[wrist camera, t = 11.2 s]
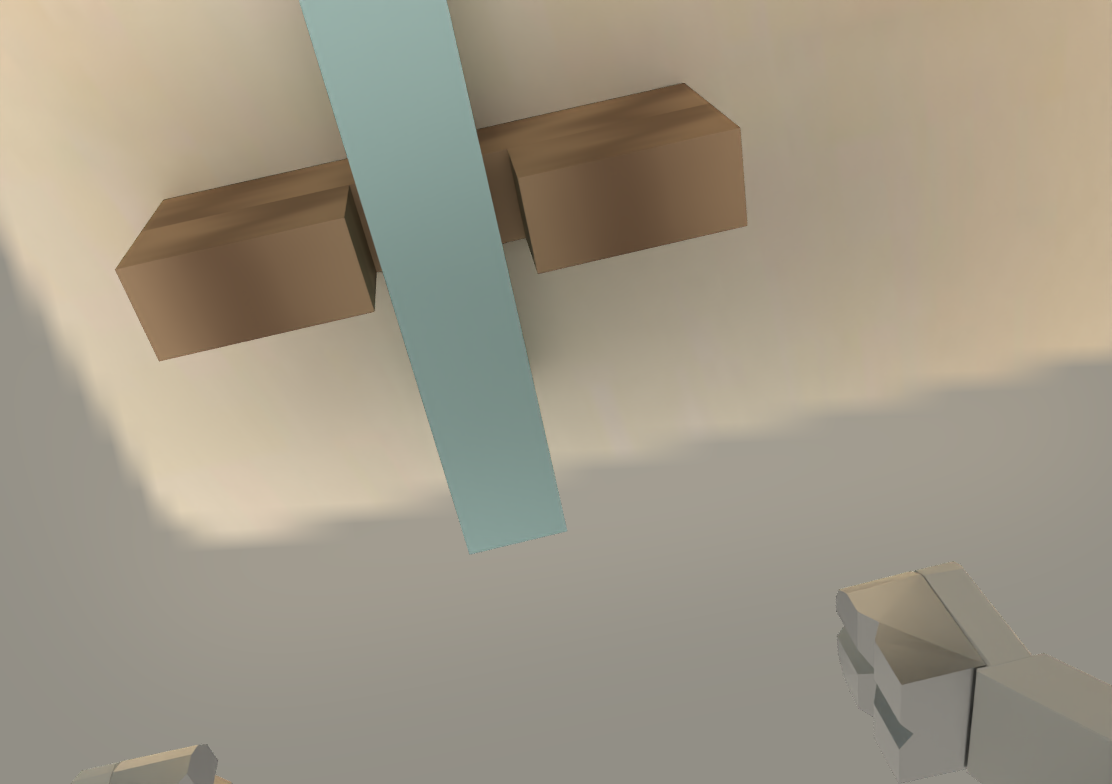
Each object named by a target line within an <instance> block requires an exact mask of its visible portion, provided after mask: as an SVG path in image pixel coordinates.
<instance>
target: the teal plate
mask: <svg viewBox="0 0 1112 784" xmlns="http://www.w3.org/2000/svg"><path fill="white" fill-rule="evenodd" d="M299 2H300V5H301V8H302V12H303V15H304V18H305V21H306V25H307V28H308V31H309V34H310V38H311V41H312V44H313V47H314V51H315V54H316V57H317V60H318V64H319V67H320V70H321V73H322V77H323V80H324V83H325V86H326V90H327V93H328V96H329V99H330V103H331V106H332V109H333V112H334V116H335V119H336V122H337V125H338V129H339V132H340V135H341V138H342V142H343V145H344V148H345V151H346V155H347V158H348V161H349V164H350V168H351V171H352V174H353V177H354V181H355V184H356V187H357V190H358V194H359V197H360V200H361V203H362V207H363V210H364V213H365V216H366V220H367V223H368V226H369V229H370V233H371V236H372V239H373V242H374V246H375V249H376V252H377V255H378V259H379V262H380V265H381V268H382V272H383V275H384V278H385V281H386V285H387V288H388V291H389V294H390V298H391V301H392V304H393V307H394V311H395V314H396V317H397V320H398V324H399V327H400V330H401V333H402V337H403V340H404V343H405V346H406V350H407V353H408V356H409V359H410V362H411V366H412V369H413V372H414V375H415V379H416V382H417V385H418V388H419V392H420V395H421V398H422V401H423V405H424V408H425V411H426V414H427V418H428V421H429V424H430V427H431V431H432V434H433V437H434V440H435V444H436V447H437V450H438V453H439V457H440V460H441V463H442V466H443V470H444V473H445V476H446V479H447V483H448V486H449V489H450V492H451V496H452V499H453V502H454V505H455V509H456V512H457V515H458V518H459V522H460V525H461V528H462V531H463V535H464V538H465V541H466V544H467V548H468V551H469V554H474V553H478V552H482V551H487V550H490V549H495V548H499V547H503V546H508V545H511V544H516V543H520V542H524V541H528V540H532V539H537V538H541V537H545V536H549V535H553V534H557V533H561V532H566V531H567V528H566V523H565V519H564V514H563V510H562V506H561V501H560V497H559V492H558V488H557V484H556V479H555V475H554V470H553V466H552V462H551V457H550V453H549V448H548V444H547V440H546V435H545V431H544V426H543V422H542V418H541V413H540V409H539V404H538V400H537V396H536V391H535V387H534V382H533V378H532V374H531V369H530V365H529V360H528V356H527V352H526V347H525V343H524V338H523V334H522V330H521V325H520V321H519V316H518V312H517V308H516V303H515V299H514V294H513V290H512V286H511V281H510V277H509V272H508V268H507V264H506V259H505V255H504V251H503V246H502V242H501V237H500V233H499V229H498V224H497V220H496V215H495V211H494V207H493V202H492V198H491V193H490V189H489V185H488V180H487V176H486V171H485V167H484V163H483V158H482V154H481V149H480V145H479V141H478V136H477V132H476V127H475V123H474V119H473V114H472V110H471V105H470V101H469V97H468V92H467V88H466V83H465V79H464V75H463V70H462V66H461V61H460V57H459V53H458V48H457V44H456V39H455V35H454V31H453V26H452V22H451V17H450V13H449V9H448V4H447V0H299Z"/></svg>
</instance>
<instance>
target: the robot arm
mask: <svg viewBox="0 0 1112 784" xmlns="http://www.w3.org/2000/svg"><path fill="white" fill-rule="evenodd" d="M836 612H837V613H838V615H839V617H840V619H841V620H842V622H843V624H844V627H843V628H842V630H841V631H840V632H839V634H838V635H837V645H838V656H839V660H840V664H841V668H842V672H843V675H844V678H845V681H846V683H847V686H848V688H849V691H850V693H851V695H852V697H853V699H854V701H855V703H856V705H857V707H858V708H859V709H860V710H862V711H864V712H865V713H867V714H869V715H871V716H872V717H874V739H875V741H876V743H877V745H878V746H879V748H880V750H881V752H882V754H883V756H884V758H885V759H886V761H887V763H888V765H889V767H890V769H891V771H892V773H893V774H894V776H895V778H896V780H897V782H898V783H899V784H900V783H905V782H910V781H914V780H919V779H923V778H928V777H933V776H937V775H942V774H946V773H951V772H956V771H960V770H964V769H967V773H968V774H969V775H971V776H972V777H973V778H975V779H976V780H978V781H979V782H980V783H982V784H1112V685H1110V684H1107V683H1105V682H1103V681H1101V680H1099V679H1097V678H1095V677H1093V676H1091V675H1089V674H1087V673H1085V672H1083V671H1081V670H1078V669H1076V668H1074V667H1072V666H1070V665H1068V664H1066V663H1064V662H1062V661H1060V660H1058V659H1056V658H1054V657H1051V656H1049V655H1047V654H1045V653H1041V654H1037V655H1032V654H1031V653H1030V652H1029V651H1028V649H1027V648H1026V647H1025V645H1024V644H1023V643H1022V642H1021V640H1020V639H1019V638H1018V637H1017V635H1016V634H1015V633H1014V632H1013V630H1012V629H1011V628H1010V627H1009V625H1008V624H1007V623H1006V621H1005V620H1004V619H1003V618H1002V616H1001V615H1000V614H999V613H998V611H997V610H996V609H995V607H994V606H993V605H992V604H991V602H990V601H989V600H988V599H987V597H986V596H985V595H984V594H983V592H982V591H981V590H980V588H979V587H978V586H977V585H976V583H975V582H974V581H973V580H972V578H971V577H970V576H969V575H968V573H966V571H965V570H964V568H963V567H962V566H961V565H959V564H958V563H956V562H954V561H952V562H948V563H944V564H940V565H935V566H931V567H928V568H923V569H920V570H915V571H914V572H912V571H909V572H905V573H901V574H898V575H894V576H890V577H886V578H882V579H878V580H874V581H870V582H866V583H862V584H858V585H854V586H850V587H847V588H842V589H839V590H838V593H837V596H836ZM217 764H218V759H217V758H216V756H215V755H214V753H213V752H212V750H211V749H210V748H209V746H208V745H207V744H203V745H195V746H190V747H186V748H181V749H176V750H171V751H167V752H162V753H158V754H153V755H149V756H143V757H139V758H134V759H129V760H125V761H121V762H118V763H113V764H109V765H104V766H100V767H95V768H91V769H86V770H82V771H81V772H80V773H79V774H78V775H77V777H76V778H75V779H74V780H73V781H72V783H71V784H232V782H230V781H227V780H225V779H223V778H221V777H218V776H216V775H215V774H216V769H217Z"/></svg>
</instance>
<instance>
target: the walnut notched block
mask: <svg viewBox="0 0 1112 784" xmlns="http://www.w3.org/2000/svg"><path fill="white" fill-rule="evenodd" d="M476 132H477V136H478V141H479V145H480V149H481V154H482V158H483V163H484V167H485V171H486V176H487V180H488V185H489V189H490V193H491V198H492V202H493V207H494V211H495V215H496V220H497V224H498V229H499V233H500V237H501V242H502V244H503V243H507V242H511V241H516V240H520V239H524V238H526V240H527V243H528V246H529V249H530V252H531V255H532V258H533V261H534V264H535V267H536V270H537V273H538V274H540V273H544V272H549V271H553V270H557V269H562V268H566V267H570V266H575V265H579V264H583V263H588V262H592V261H596V260H601V259H605V258H609V257H614V256H618V255H622V254H627V253H631V252H635V251H640V250H644V249H648V248H653V247H657V246H661V245H666V244H670V243H674V242H679V241H683V240H687V239H692V238H696V237H700V236H705V235H709V234H713V233H718V232H722V231H726V230H731V229H735V228H739V227H744V226H747V213H746V200H745V186H744V172H743V159H742V145H741V131H740V127H739V126H737V125H736V124H735V123H734V122H732V121H731V120H730V119H729V118H727V117H726V116H725V115H724V114H722V113H721V112H720V111H719V110H717V109H716V108H715V107H714V106H712V105H711V104H710V103H709V102H707V101H706V100H705V99H704V98H702V97H701V96H700V95H698V94H697V93H696V92H695V91H693V90H692V89H691V88H690V87H688V86H687V85H686V84H685V83H682V84H677V85H673V86H668V87H664V88H659V89H655V90H650V91H646V92H642V93H637V94H633V95H628V96H624V97H619V98H615V99H610V100H606V101H602V102H597V103H593V104H588V105H584V106H579V107H575V108H570V109H566V110H561V111H557V112H553V113H548V114H544V115H539V116H535V117H530V118H526V119H521V120H517V121H513V122H508V123H504V124H499V125H495V126H490V127H486V128H481V129H477V130H476ZM115 270H116V273H117V275H118V277H119V279H120V281H121V283H122V285H123V287H124V289H125V291H126V293H127V295H128V298H129V300H130V302H131V304H132V306H133V308H134V310H135V312H136V314H137V316H138V318H139V321H140V323H141V325H142V327H143V329H144V331H145V333H146V335H147V337H148V339H149V341H150V343H151V346H152V348H153V350H154V352H155V354H156V356H157V358H158V360H159V361H163V360H167V359H171V358H176V357H180V356H184V355H189V354H193V353H197V352H202V351H206V350H210V349H215V348H219V347H223V346H228V345H232V344H236V343H241V342H245V341H249V340H254V339H258V338H262V337H267V336H271V335H275V334H280V333H284V332H288V331H293V330H297V329H301V328H306V327H310V326H314V325H319V324H323V323H327V322H332V321H336V320H341V319H345V318H349V317H354V316H358V315H362V314H367V313H371V312H374V311H375V293H376V276H377V272H380V271H382V268H381V265H380V262H379V259H378V255H377V252H376V249H375V246H374V242H373V239H372V236H371V233H370V229H369V226H368V223H367V220H366V216H365V213H364V210H363V207H362V203H361V200H360V197H359V194H358V190H357V187H356V184H355V181H354V177H353V174H352V171H351V168H350V164H349V161H348V159H344V160H339V161H335V162H330V163H326V164H321V165H317V166H312V167H308V168H304V169H299V170H295V171H290V172H286V173H281V174H277V175H272V176H268V177H263V178H259V179H255V180H250V181H246V182H241V183H237V184H232V185H228V186H223V187H219V188H215V189H210V190H206V191H201V192H197V193H192V194H188V195H183V196H179V197H175V198H170V199H166V200H163V201H162V202H161V204H160V205H159V207H158V208H157V210H156V211H155V213H154V214H153V216H152V217H151V218H150V220H149V221H148V223H147V224H146V226H145V227H144V229H143V230H142V231H141V233H140V234H139V236H138V237H137V239H136V240H135V242H134V243H133V244H132V246H131V247H130V249H129V250H128V252H127V253H126V255H125V256H124V257H123V259H122V260H121V262H120V263H119V265H118V266H117V268H116V269H115Z"/></svg>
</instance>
